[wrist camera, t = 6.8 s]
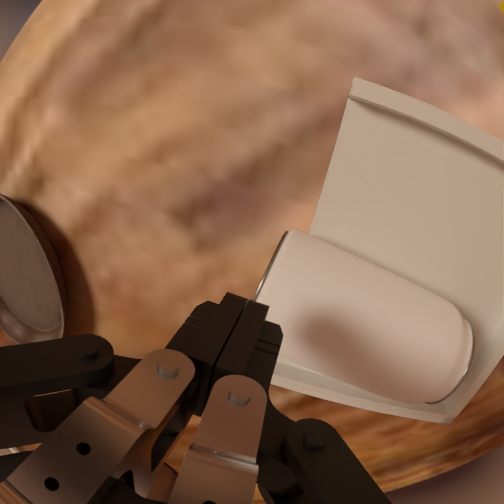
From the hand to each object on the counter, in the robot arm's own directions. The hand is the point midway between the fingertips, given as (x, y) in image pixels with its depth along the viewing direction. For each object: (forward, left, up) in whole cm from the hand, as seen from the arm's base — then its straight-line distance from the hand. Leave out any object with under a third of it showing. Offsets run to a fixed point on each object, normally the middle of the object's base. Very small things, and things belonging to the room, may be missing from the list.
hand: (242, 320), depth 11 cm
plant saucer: (+5, +27, -10) cm, 29 cm away
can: (-1, +1, -6) cm, 6 cm away
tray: (-6, -8, -10) cm, 14 cm away
